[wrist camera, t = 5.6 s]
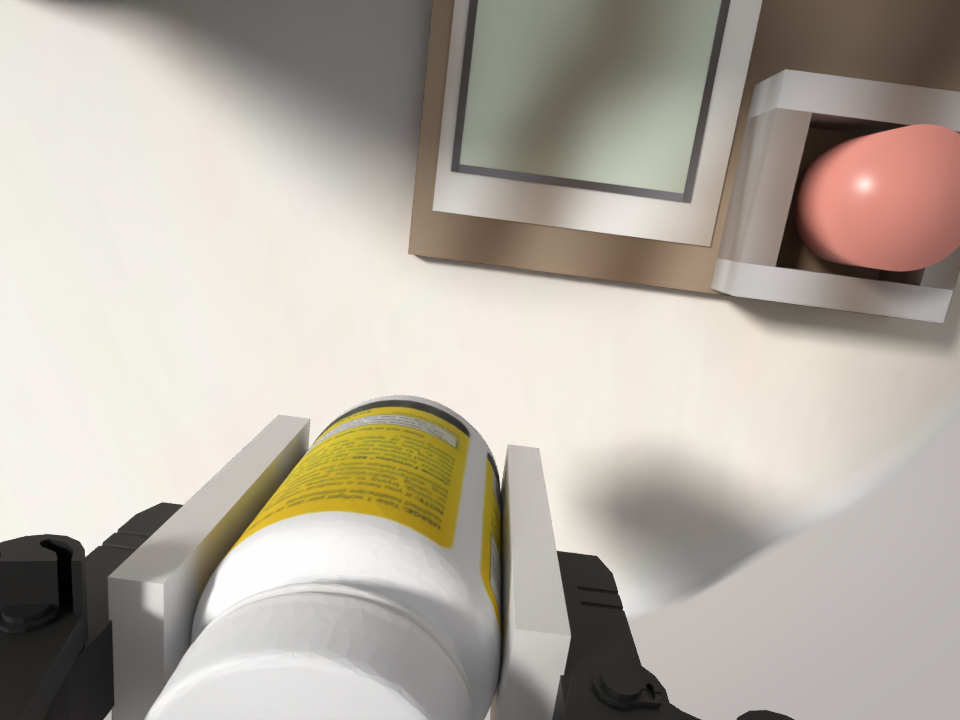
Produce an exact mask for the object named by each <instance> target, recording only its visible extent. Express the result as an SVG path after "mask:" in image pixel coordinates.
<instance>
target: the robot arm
mask: <svg viewBox="0 0 960 720" xmlns="http://www.w3.org/2000/svg"><path fill="white" fill-rule="evenodd" d="M309 430H310V419H307V418H299V417H291V416H283V415H278V416H277V417H276V418H275V419H274V420H273V421H272V422H271V423H270V424H269V425H268V426H267V427H266V428H264V429H263V430H262V431H261V432H260V433H259V434H258V435H257V436H256V437H255V438H254V439H253V440H252V441H251V442H250V443H249V444H248V445H247V446H245V447H244V448H243V449H242V450H241V451H240V452H239V453H238V454H237V455H236V456H235V457H234V458H233V459H232V460H231V461H230V462H229V463H228V464H226V465H225V466H224V467H223V468H222V469H221V470H220V471H219V472H218V473H217V474H216V475H215V476H214V477H213V478H212V479H211V480H210V481H209V482H207V483H206V484H205V485H204V486H203V487H202V488H201V489H200V490H199V491H198V492H197V493H196V494H195V495H194V496H193V497H192V498H191V499H190V500H188V501H187V502H186V503H185V504H184V505H179V504H171V503H163V502H162V503H160V504H158V505H156V506H153V507H151V508H149V509H147V510H145V511H142V512H140V513H138V514H136V515H135V516H134V517H132V518H131V519H130V520H129V521H128V522H127V523H125V524H124V525H123V526H122V527H121V528H119V529H118V532H117V533H114V534H112V535H111V536H110V537H109V538H108V539H107V540H105V541H104V542H103V545H102V546H98V547H97V548H96V549H95V550H94V551H92V552H91V553H90V554H89V555H88V556H86V557H85V550H84V548H83V546H82V545H81V543H80V542H79V541H77V540H75V539H72V538H70V537H68V536H61V535H51V534H45V535H33V536H25V537H20V538H16V539H12V540H8V541H4V542H1V543H0V720H103V719H104V718H105V717H106V716H107V714H108V713H109V712H110V710H111V709H112V720H144V719H145V717H146V715H147V713H148V712H149V710H150V709H151V707H152V706H153V704H154V703H155V701H156V700H157V698H158V697H159V695H160V694H161V692H162V691H163V689H164V687H165V686H166V684H167V682H168V681H169V679H170V677H171V676H172V674H173V673H174V671H175V670H176V669H177V667H178V665H179V663H180V661H181V659H182V658H183V656H184V655H185V653H186V652H187V650H188V649H189V648H190V646H191V634H192V626H193V620H194V616H195V612H196V608H197V606H198V603H199V600H200V598H201V595H202V593H203V591H204V589H205V587H206V585H207V583H208V581H209V579H210V577H211V575H212V574H213V572H214V571H215V569H216V568H217V566H218V565H219V563H220V562H221V561H222V560H223V558H224V557H225V556H226V555H227V553H228V552H229V551H230V550H231V548H232V547H233V546H234V544H235V543H236V542H237V541H238V539H239V538H240V537H241V535H242V534H243V533H244V532H245V530H246V529H247V528H248V526H249V525H250V524H251V523H252V521H253V520H254V519H255V517H256V516H257V515H258V514H259V512H260V511H261V510H262V508H263V507H264V506H265V505H266V503H267V502H268V501H269V500H270V498H271V497H272V496H273V494H274V493H275V492H276V491H277V489H278V488H279V487H280V485H281V484H282V483H283V482H284V480H285V479H286V478H287V477H288V475H289V474H290V473H291V471H292V470H293V469H294V467H295V466H296V465H297V464H298V463H299V461H300V460H301V459H302V458H303V456H304V455H305V453H306V452H307V451H308V446H309ZM500 494H501V632H502V651H501V663H500V671H499V679H498V684H497V688H496V692H495V695H494V698H493V701H492V704H491V710H490V720H700V719H698V718H696V717H694V716H692V715H689V714H687V713H685V712H683V711H681V710H679V709H678V708H676V707H675V706H673V705H672V704H670V703H669V700H668V696H667V693H666V690H665V688H664V687H663V686H662V685H661V683H660V682H659V681H658V679H657V678H656V677H655V676H654V675H653V674H652V673H650V672H649V671H648V670H646V669H645V668H644V667H642V666H641V663H640V660H639V656H638V653H637V650H636V647H635V644H634V641H633V637H632V634H631V631H630V628H629V625H628V621H627V618H626V615H625V612H624V611H623V606H622V602H621V599H620V596H619V595H618V590H617V586H616V583H615V580H614V577H613V574H612V572H611V571H610V570H609V569H608V568H607V567H606V566H605V565H604V563H603V562H602V561H601V560H600V559H599V558H598V557H597V556H592V555H584V554H577V553H569V552H561V551H556V545H555V539H554V533H553V527H552V522H551V516H550V510H549V504H548V498H547V492H546V487H545V481H544V475H543V469H542V463H541V458H540V452H539V448H532V447H524V446H516V445H509V444H508V446H507V452H506V459H505V466H504V473H503V479H502V486H501V493H500ZM737 720H794V719H792V718H790V717H788V716H786V715H782V714H779V713H775V712H771V711H767V710H759V711H748V712H747V713H745V714H743V715H741V716H739V717H738V718H737Z"/></svg>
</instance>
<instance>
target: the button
mask: <svg viewBox="0 0 960 720" xmlns="http://www.w3.org/2000/svg"><path fill="white" fill-rule="evenodd" d="M793 214H794V221H795V226H796V229H797V231H798V234H799V236H800V238H801V239H802V241H803V242H804V244H805V245H806V246H807V247H808V248H809V249H810V250H811V251H812V252H813V253H814V254H816V255H817V256H819V257H821V258H822V259H824V260H827V261H830V262H833V263H838V264H845V265H852V266H859V267H867V268H874V269H882V270H889V271H912V270H918V269H922V268H925V267H928V266H930V265H933V264H935V263H937V262H939V261H941V260H942V259H944V258H946V257H947V256H949V255H950V254H951V253H953V252H954V251H955V250H956V249H957V248H958V247H959V246H960V134H959V133H957V132H955V131H953V130H951V129H948V128H946V127H943V126H938V125H932V124H918V125H911V126H906V127H901V128H897V129H892V130H888V131H883V132H879V133H874V134H870V135H866V136H861V137H857V138H852V139H848V140H845V141H842V142H839V143H837V144H835V145H833V146H831V147H830V148H828V149H827V150H825V151H824V152H822V153H821V154H820V155H819V156H818V157H817V158H816V159H815V160H814V161H813V162H812V163H811V164H810V165H809V167H808V168H807V169H806V171H805V172H804V174H803V176H802V177H801V179H800V182H799V184H798V186H797V190H796V193H795V198H794V206H793Z"/></svg>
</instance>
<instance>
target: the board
mask: <svg viewBox="0 0 960 720" xmlns="http://www.w3.org/2000/svg"><path fill="white" fill-rule="evenodd" d="M918 124H932V125H938V126H943V127H946V128H948V129H951V130H953V131H955V132H957V133H959V134H960V0H433V5H432V15H431V25H430V36H429V46H428V56H427V66H426V76H425V87H424V97H423V107H422V117H421V127H420V138H419V148H418V158H417V168H416V179H415V189H414V199H413V209H412V219H411V230H410V240H409V250H408V254H413V255H421V256H428V257H436V258H444V259H451V260H459V261H467V262H474V263H482V264H490V265H497V266H505V267H513V268H520V269H528V270H536V271H543V272H551V273H559V274H566V275H574V276H582V277H589V278H597V279H605V280H612V281H620V282H628V283H635V284H643V285H651V286H658V287H666V288H674V289H681V290H689V291H697V292H704V293H712V294H720V295H727V296H735V297H743V298H750V299H758V300H766V301H773V302H781V303H789V304H796V305H804V306H812V307H819V308H827V309H835V310H842V311H850V312H858V313H865V314H873V315H881V316H888V317H896V318H906V319H913V320H921V321H929V322H936V323H944V320H945V316H946V313H947V310H948V307H949V303H950V300H951V297H952V294H953V291H954V287H955V284H956V281H957V278H958V274H959V271H960V246H959V247H958V248H957V249H956V250H955V251H954V252H953V253H951V254H950V255H949V256H947V257H946V258H944V259H942V260H941V261H939V262H937V263H935V264H933V265H930V266H928V267H925V268H922V269H918V270H912V271H889V270H882V269H874V268H867V267H859V266H852V265H845V264H838V263H833V262H830V261H827V260H824V259H822V258H821V257H819V256H817V255H816V254H814V253H813V252H812V251H811V250H810V249H809V248H808V247H807V246H806V245H805V244H804V242H803V241H802V239H801V238H800V236H799V234H798V231H797V229H796V226H795V221H794V214H793V206H794V198H795V193H796V190H797V186H798V184H799V182H800V179H801V177H802V176H803V174H804V172H805V171H806V169H807V168H808V167H809V165H810V164H811V163H812V162H813V161H814V160H815V159H816V158H817V157H818V156H819V155H820V154H821V153H822V152H824V151H825V150H827V149H828V148H830V147H831V146H833V145H835V144H837V143H839V142H842V141H845V140H848V139H852V138H857V137H861V136H866V135H870V134H874V133H879V132H883V131H888V130H892V129H897V128H901V127H906V126H911V125H918Z"/></svg>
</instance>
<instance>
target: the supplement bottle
mask: <svg viewBox="0 0 960 720" xmlns="http://www.w3.org/2000/svg"><path fill="white" fill-rule="evenodd" d="M501 651H502V632H501V494H500V480H499V474H498V469H497V466H496V463H495V460H494V457H493V455H492V453H491V451H490V449H489V447H488V445H487V444H486V442H485V440H484V439H483V438H482V436H481V435H480V434H479V433H478V431H477V430H476V429H475V428H474V427H473V426H472V425H471V424H469V423H468V422H467V421H466V420H465V419H464V418H463V417H461V416H460V415H458V414H457V413H455V412H454V411H452V410H451V409H449V408H447V407H445V406H443V405H441V404H439V403H437V402H434V401H431V400H428V399H425V398H420V397H415V396H400V395H395V396H385V397H380V398H375V399H371V400H369V401H366V402H363V403H361V404H359V405H356V406H354V407H352V408H351V409H349V410H347V411H346V412H344V413H343V414H341V415H340V416H339V417H337V418H336V419H335V420H334V421H333V422H332V423H331V424H330V425H329V426H328V427H327V428H326V429H325V430H324V431H323V432H322V433H321V434H320V435H319V436H318V438H317V439H316V440H315V442H314V443H313V445H312V446H311V447H310V448H309V450H308V451H307V452H306V453H305V455H304V456H303V458H302V459H301V460H300V461H299V463H298V464H297V465H296V466H295V467H294V469H293V470H292V471H291V473H290V474H289V475H288V477H287V478H286V479H285V480H284V482H283V483H282V484H281V485H280V487H279V488H278V489H277V491H276V492H275V493H274V494H273V496H272V497H271V498H270V500H269V501H268V502H267V503H266V505H265V506H264V507H263V508H262V510H261V511H260V512H259V514H258V515H257V516H256V517H255V519H254V520H253V521H252V523H251V524H250V525H249V526H248V528H247V529H246V530H245V532H244V533H243V534H242V535H241V537H240V538H239V539H238V541H237V542H236V543H235V544H234V546H233V547H232V548H231V550H230V551H229V552H228V553H227V555H226V556H225V557H224V558H223V560H222V561H221V562H220V563H219V565H218V566H217V568H216V569H215V571H214V572H213V574H212V575H211V577H210V579H209V581H208V583H207V585H206V587H205V589H204V591H203V593H202V595H201V598H200V600H199V603H198V606H197V608H196V612H195V616H194V620H193V626H192V634H191V646H190V648H189V649H188V650H187V652H186V653H185V655H184V656H183V658H182V659H181V661H180V663H179V665H178V667H177V669H176V670H175V671H174V673H173V674H172V676H171V677H170V679H169V681H168V682H167V684H166V686H165V687H164V689H163V691H162V692H161V694H160V695H159V697H158V698H157V700H156V701H155V703H154V704H153V706H152V707H151V709H150V710H149V712H148V713H147V715H146V717H145V719H144V720H484V719H485V717H486V715H487V713H488V710H489V708H490V706H491V704H492V701H493V698H494V695H495V692H496V688H497V684H498V679H499V671H500V663H501Z"/></svg>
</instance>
